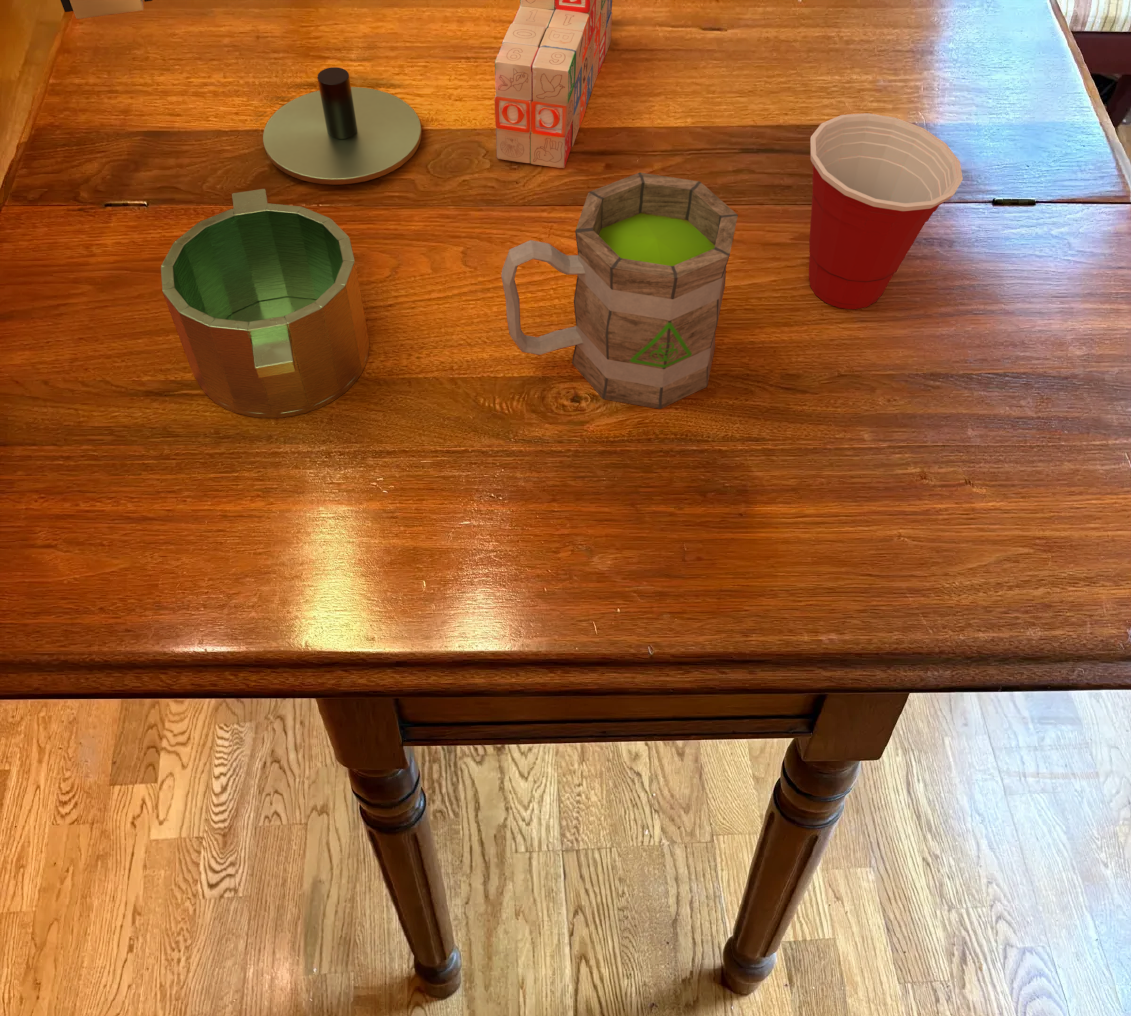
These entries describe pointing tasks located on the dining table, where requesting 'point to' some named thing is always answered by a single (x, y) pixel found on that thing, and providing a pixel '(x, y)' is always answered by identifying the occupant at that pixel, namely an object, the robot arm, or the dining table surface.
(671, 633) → the dining table surface
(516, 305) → the mug
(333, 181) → the lid
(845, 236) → the plastic cup
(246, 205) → the pot
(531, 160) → the stack of blocks
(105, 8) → the block
